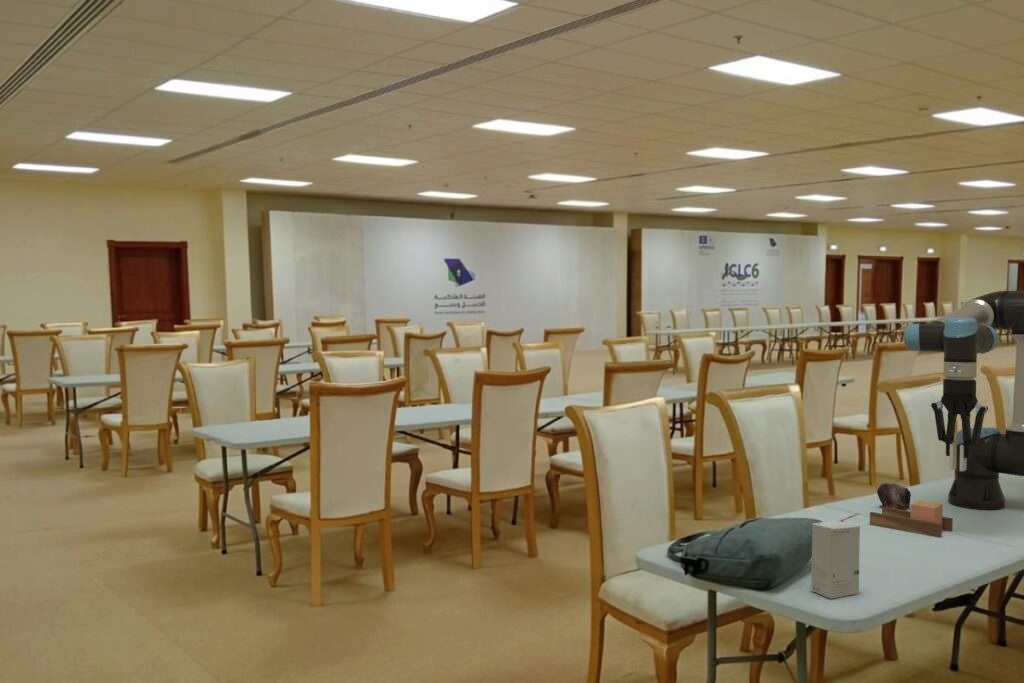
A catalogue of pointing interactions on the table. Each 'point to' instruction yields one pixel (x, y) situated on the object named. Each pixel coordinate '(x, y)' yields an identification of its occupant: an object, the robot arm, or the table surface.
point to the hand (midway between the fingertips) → (957, 469)
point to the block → (926, 511)
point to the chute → (908, 522)
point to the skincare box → (835, 559)
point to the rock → (894, 496)
